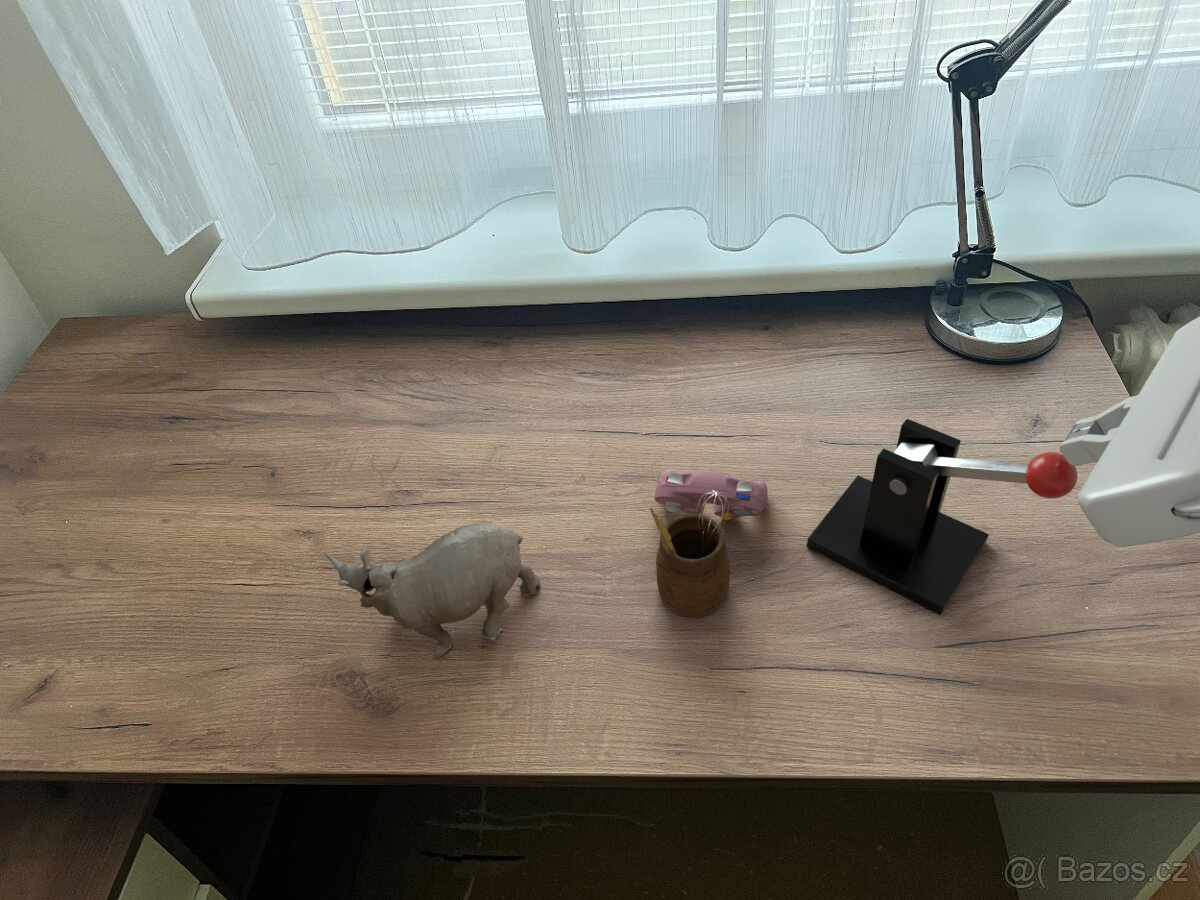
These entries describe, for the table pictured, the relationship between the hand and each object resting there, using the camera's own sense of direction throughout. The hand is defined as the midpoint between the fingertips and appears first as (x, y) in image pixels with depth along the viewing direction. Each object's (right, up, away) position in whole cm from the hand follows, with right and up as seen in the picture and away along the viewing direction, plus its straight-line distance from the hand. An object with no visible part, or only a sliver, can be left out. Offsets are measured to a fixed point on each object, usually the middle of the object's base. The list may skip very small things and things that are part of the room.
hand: (1071, 444), depth 58 cm
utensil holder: (-24, -12, +15) cm, 31 cm away
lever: (-3, -3, +6) cm, 8 cm away
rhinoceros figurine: (-45, -15, +15) cm, 49 cm away
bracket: (-6, -9, +16) cm, 19 cm away
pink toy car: (-21, -6, +21) cm, 31 cm away
